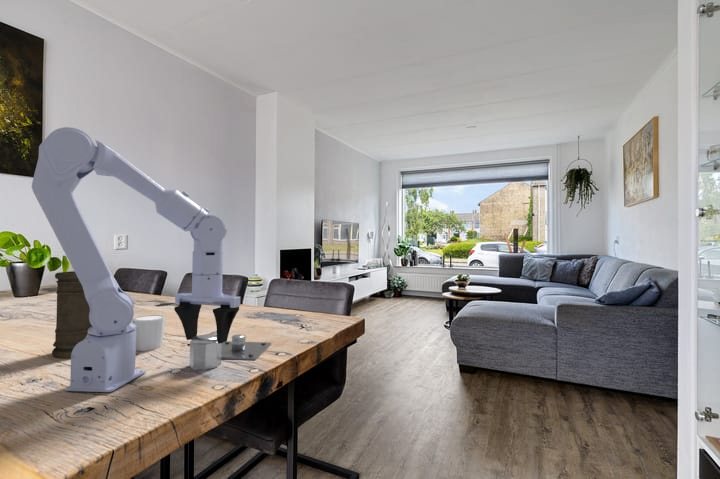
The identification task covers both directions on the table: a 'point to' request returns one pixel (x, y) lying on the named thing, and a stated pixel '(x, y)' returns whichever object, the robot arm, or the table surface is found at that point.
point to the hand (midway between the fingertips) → (206, 340)
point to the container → (70, 314)
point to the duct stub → (242, 348)
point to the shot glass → (149, 332)
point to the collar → (205, 352)
